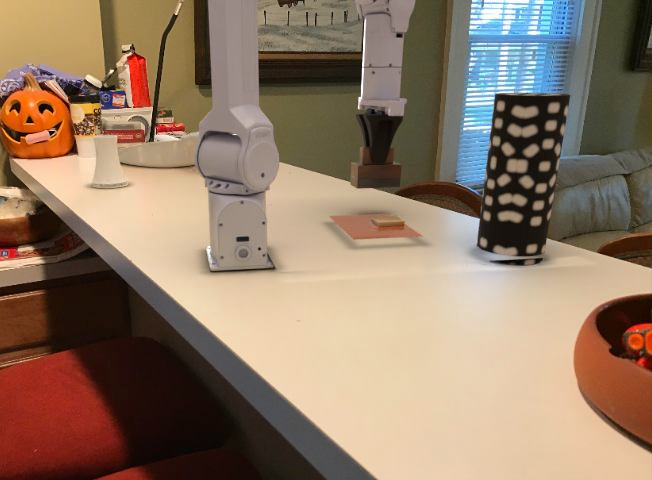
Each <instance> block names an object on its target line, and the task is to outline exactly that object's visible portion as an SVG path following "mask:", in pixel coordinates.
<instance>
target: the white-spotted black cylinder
mask: <svg viewBox="0 0 652 480" xmlns="http://www.w3.org/2000/svg"><path fill="white" fill-rule="evenodd" d="M570 100H571V94H569V93H555V92H554V93H552V92H499V93H495V94H494V101H493V106H492V107H493V108H492V109H493V110H492V117H491V123H490V133H489V140H488V141H489V142H488V147H487V158H486V166H485V173H484V183H483V190H482V198H481V205H480V213H479V222H478V231H477V238H476V247H477V248H478V249H480V250H481V251H484V252H487V253H490V254H494V255H499V256H506V257H507V256H508V257H518V258H512V259H495V260H490V262H492V263H495V264H503V265H510V266H530V265H536V264H539V263H542V262H543V261H544V257H535V256H539V255H540V256H541V255H542V254H544V253H545V252H546V247H547V246H546V245H547V240H548V234H549V229H550V228H549V227H550V222H551V216H552V209H553V204H554V197H555V191H556V187H557V186H556V185H557V179H558V173H559V167H560V160H561V155H562V150H563V149H562V148H563V142H564V137H565V131H566V124H567V119H568V113H569V106H570ZM519 257H530V258H519ZM531 257H532V258H531ZM533 257H534V258H533Z"/></svg>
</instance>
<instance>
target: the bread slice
mask: <svg viewBox="0 0 652 480" xmlns="http://www.w3.org/2000/svg"><path fill="white" fill-rule="evenodd" d="M370 221H372V222H373V223H374V224H376V225H377V226H378V227H384V226H404V224H406V223H405V222H406V221H405V220H404V219H402V218H401V217H399V216H397V215H396V214H391V215H384V216H370Z"/></svg>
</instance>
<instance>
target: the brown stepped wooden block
mask: <svg viewBox="0 0 652 480" xmlns="http://www.w3.org/2000/svg"><path fill="white" fill-rule="evenodd" d="M394 156H395V146H392V145H391V147H390V150H389V154H388V157H387V160H386V162H385V163H373V162H372V160H371V155H370V147H365V146H359V161H356V162H355V161H353V162H351V163H350V186H352V187H354V188H355V189H357V190H358V189H360V190H361V189H383V188H386V189H387V188H400V187H401V181H402V180H401V179H402V167H403V165H402V163H399V162H397V161H394V159H395V157H394Z"/></svg>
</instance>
